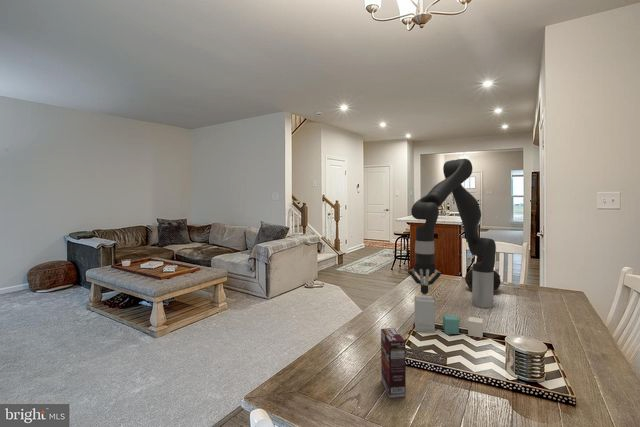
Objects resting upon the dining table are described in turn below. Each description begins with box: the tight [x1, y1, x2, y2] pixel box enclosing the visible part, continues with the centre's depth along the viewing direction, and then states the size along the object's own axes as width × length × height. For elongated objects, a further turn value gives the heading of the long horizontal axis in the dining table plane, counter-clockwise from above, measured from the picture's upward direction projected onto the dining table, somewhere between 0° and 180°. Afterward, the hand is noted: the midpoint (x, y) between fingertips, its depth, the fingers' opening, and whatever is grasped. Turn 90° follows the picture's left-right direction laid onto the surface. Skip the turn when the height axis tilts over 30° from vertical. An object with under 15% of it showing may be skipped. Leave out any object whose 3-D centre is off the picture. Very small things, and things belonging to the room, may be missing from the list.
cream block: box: [467, 316, 484, 337], centre depth 127 cm, size 5×5×6 cm
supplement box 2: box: [414, 295, 436, 334], centre depth 133 cm, size 7×7×13 cm
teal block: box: [442, 314, 460, 335], centre depth 130 cm, size 5×5×6 cm
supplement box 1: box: [380, 327, 407, 399], centre depth 92 cm, size 9×5×16 cm, turn 5°
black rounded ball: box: [464, 256, 502, 293], centre depth 183 cm, size 18×18×28 cm
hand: (424, 293), depth 132 cm, fingers closed
